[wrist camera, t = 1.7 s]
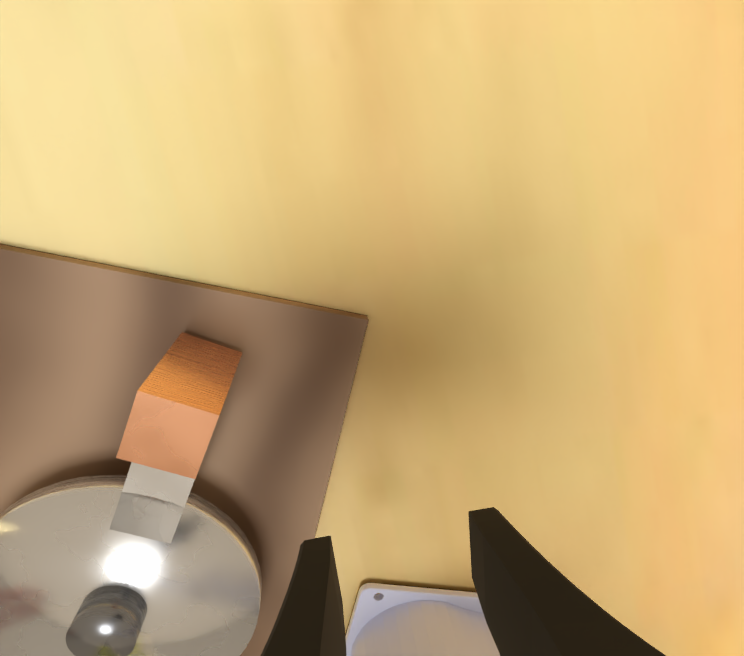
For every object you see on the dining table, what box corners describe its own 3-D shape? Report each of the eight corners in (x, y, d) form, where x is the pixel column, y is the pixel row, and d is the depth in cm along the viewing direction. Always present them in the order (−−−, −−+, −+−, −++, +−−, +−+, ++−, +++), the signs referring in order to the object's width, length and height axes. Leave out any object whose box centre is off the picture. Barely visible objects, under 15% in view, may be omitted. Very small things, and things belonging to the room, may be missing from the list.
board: (366, 315, 20) (370, 327, 19) (276, 683, 27) (274, 712, 25) (-127, 219, 17) (-167, 224, 16) (-93, 665, 24) (-119, 698, 22)
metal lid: (218, 686, 25) (195, 808, 20) (-39, 642, 22) (-132, 771, 18) (353, 390, 20) (365, 460, 16) (49, 286, 17) (-48, 334, 13)
